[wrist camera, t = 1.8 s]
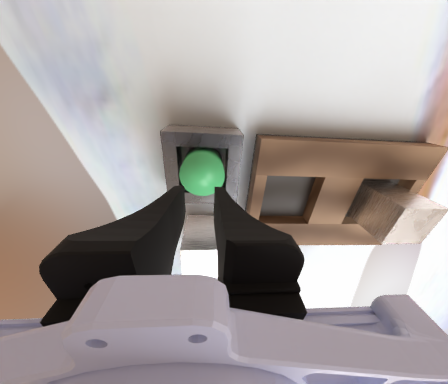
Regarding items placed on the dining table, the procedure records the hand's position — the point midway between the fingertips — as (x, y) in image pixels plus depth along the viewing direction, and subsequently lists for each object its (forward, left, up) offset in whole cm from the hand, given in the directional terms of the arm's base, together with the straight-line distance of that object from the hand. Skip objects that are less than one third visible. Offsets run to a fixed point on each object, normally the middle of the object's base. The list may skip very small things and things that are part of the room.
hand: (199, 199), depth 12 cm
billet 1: (-10, 0, -8) cm, 13 cm away
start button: (0, 0, -7) cm, 7 cm away
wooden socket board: (-4, -16, -8) cm, 18 cm away
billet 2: (-4, -21, -8) cm, 23 cm away
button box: (0, 0, -8) cm, 8 cm away
